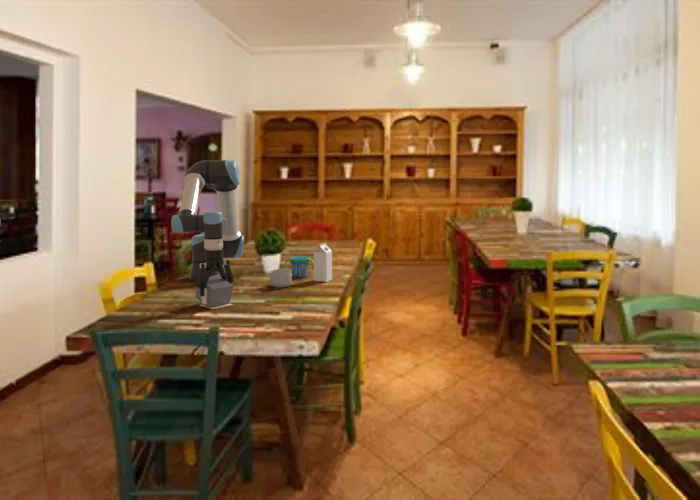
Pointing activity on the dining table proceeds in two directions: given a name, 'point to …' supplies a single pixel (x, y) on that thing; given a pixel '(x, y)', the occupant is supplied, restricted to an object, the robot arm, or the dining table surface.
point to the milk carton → (323, 263)
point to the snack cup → (299, 265)
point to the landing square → (216, 306)
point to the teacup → (280, 277)
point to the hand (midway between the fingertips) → (215, 301)
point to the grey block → (216, 291)
